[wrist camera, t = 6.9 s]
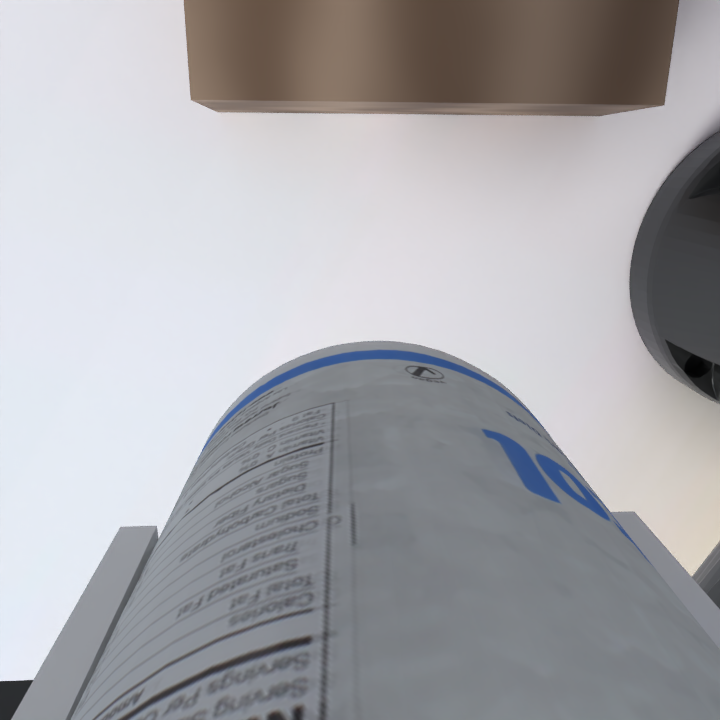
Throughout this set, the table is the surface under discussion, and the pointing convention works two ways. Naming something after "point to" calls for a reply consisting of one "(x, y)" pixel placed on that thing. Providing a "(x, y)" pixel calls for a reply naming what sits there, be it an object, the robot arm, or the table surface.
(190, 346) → the table surface
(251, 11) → the walnut riser
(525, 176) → the table surface
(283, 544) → the supplement tub
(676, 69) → the table surface
